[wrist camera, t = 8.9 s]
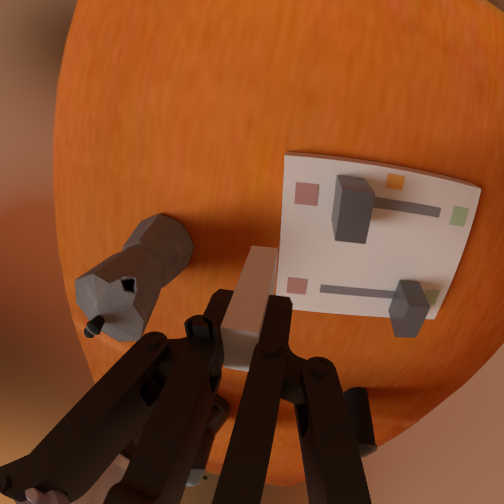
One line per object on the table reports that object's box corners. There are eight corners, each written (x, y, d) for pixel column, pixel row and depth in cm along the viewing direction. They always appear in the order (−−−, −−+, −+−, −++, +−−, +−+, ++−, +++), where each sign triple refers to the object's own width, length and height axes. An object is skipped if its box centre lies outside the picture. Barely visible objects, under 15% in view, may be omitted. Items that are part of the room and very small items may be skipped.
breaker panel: (277, 295, 39) (275, 307, 37) (286, 151, 29) (284, 155, 27) (429, 308, 36) (434, 319, 34) (471, 182, 26) (481, 189, 23)
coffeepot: (166, 189, 34) (74, 262, 19) (217, 239, 37) (158, 340, 21) (116, 253, 41) (46, 327, 26) (158, 292, 44) (102, 377, 28)
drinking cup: (360, 379, 46) (363, 475, 29) (380, 392, 48) (385, 479, 31) (329, 393, 50) (324, 483, 33) (350, 405, 51) (349, 487, 34)
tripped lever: (331, 219, 29) (334, 240, 25) (336, 174, 27) (342, 189, 23) (357, 222, 29) (365, 244, 25) (364, 178, 26) (375, 193, 22)
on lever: (388, 310, 34) (395, 337, 30) (399, 280, 31) (408, 306, 27) (407, 311, 34) (415, 337, 29) (419, 282, 31) (430, 307, 27)
